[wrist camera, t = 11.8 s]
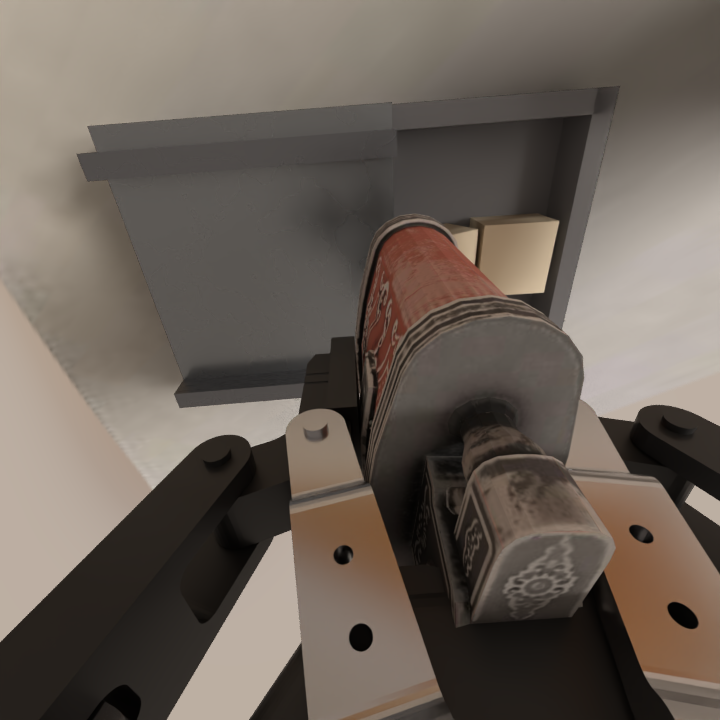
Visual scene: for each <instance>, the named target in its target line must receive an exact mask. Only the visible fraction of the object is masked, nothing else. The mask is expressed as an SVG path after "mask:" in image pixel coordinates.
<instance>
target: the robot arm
mask: <svg viewBox="0 0 720 720" xmlns="http://www.w3.org/2000/svg"><path fill="white" fill-rule="evenodd" d="M565 467H566V469H567V470H568V472H569V473H570V475H571V476H572V478H573V479H574V481H575V482H576V484H577V485H578V487H579V488H580V490H581V491H582V493H583V494H584V496H585V497H586V499H587V500H588V502H589V503H590V505H591V506H592V508H593V509H594V511H595V512H596V514H597V515H598V517H599V518H600V520H601V521H602V523H603V524H604V526H605V527H606V529H607V530H608V532H609V533H610V535H611V536H612V538H613V540H614V543H615V547H616V549H615V551H614V553H613V555H612V558H611V560H610V562H609V563H608V565H607V566H606V568H605V569H604V570H603V572H602V573H601V575H600V576H599V578H598V579H597V581H596V582H595V584H594V585H593V587H592V588H591V590H590V591H589V593H588V594H587V596H586V597H585V598H584V600H583V601H582V603H583V607H578V609H577V610H576V612H575V613H574V615H573V616H572V617H565V618H550V619H536V620H521V621H507V622H492V623H477V624H468V625H464V626H461V627H458V628H455V623H454V619H453V615H452V610H451V606H450V602H449V598H448V595H447V592H445V588H444V584H443V579H442V575H441V570H440V567H434V566H429V565H424V564H423V565H409V566H398V564H397V561H396V558H395V555H394V552H393V549H392V546H391V543H390V540H389V537H388V534H387V531H386V528H385V525H384V522H383V520H382V517H381V514H380V511H379V508H378V505H377V502H376V499H375V496H374V493H373V490H372V487H371V485H370V483H369V482H368V481H367V482H365V481H364V479H363V476H362V461H361V441H360V419H359V384H358V372H357V360H356V348H355V337H354V336H346V337H333V338H331V348H330V353H326V354H315V356H314V357H313V358H312V359H311V360H310V361H309V362H308V364H307V369H306V376H305V380H304V386H303V392H302V398H301V403H300V409H299V415H297V416H296V417H294V418H293V419H292V420H291V421H290V422H289V424H288V426H287V428H286V434H285V435H283V436H281V437H279V438H277V439H275V440H273V441H270V442H267V443H263V444H260V445H257V446H254V447H250V444H249V442H248V441H247V440H246V439H244V438H243V437H240V436H237V435H222V436H218V437H215V438H212V439H209V440H207V441H205V442H203V443H202V444H200V445H199V446H197V447H196V448H195V449H194V450H193V451H192V452H191V453H190V454H189V455H188V456H187V457H186V458H185V459H184V460H183V461H182V462H181V463H180V464H179V465H178V466H176V467H175V468H174V469H173V470H172V471H171V472H170V473H169V474H168V475H167V476H166V477H165V478H164V479H163V480H162V481H161V482H160V483H159V484H158V485H157V486H156V487H155V488H154V489H153V490H152V491H151V493H149V494H148V495H147V496H146V497H145V498H144V499H143V501H141V502H140V503H139V504H138V505H137V507H135V508H134V510H132V512H131V513H129V515H127V516H126V517H125V518H124V519H123V520H122V521H121V522H120V523H119V524H118V526H116V527H115V528H114V530H112V531H111V532H110V533H109V534H108V535H107V536H106V537H105V538H104V539H103V540H102V541H101V542H100V543H99V544H98V545H97V546H96V547H95V548H94V549H93V550H92V551H91V552H90V553H89V554H88V555H87V556H86V557H85V558H84V559H83V560H82V561H81V562H80V563H79V564H78V565H77V566H76V567H75V568H74V569H73V570H72V571H71V572H70V573H69V574H68V575H67V576H66V577H65V578H64V579H63V580H62V581H61V582H60V583H59V584H58V585H57V586H56V587H55V588H54V589H53V590H52V591H51V592H50V593H49V594H48V596H46V597H45V598H44V599H43V600H42V601H41V602H40V603H39V604H38V605H37V606H36V607H35V608H34V609H33V610H32V611H31V612H30V613H29V614H28V615H27V616H26V617H25V618H24V619H23V620H22V621H21V622H20V623H19V624H18V625H17V626H16V627H15V628H14V629H13V630H12V631H11V632H10V633H9V634H8V635H7V636H6V637H5V638H4V639H3V640H2V641H1V642H0V720H167V718H168V716H169V714H170V712H171V711H172V709H173V708H174V706H175V704H176V703H177V701H178V699H179V698H180V696H181V694H182V693H183V691H184V689H185V687H186V686H187V684H188V682H189V681H190V679H191V677H192V676H193V674H194V672H195V670H196V669H197V667H198V665H199V664H200V662H201V660H202V659H203V657H204V655H205V654H206V652H207V650H208V649H209V647H210V645H211V643H212V642H213V640H214V638H215V637H216V635H217V633H218V632H219V630H220V628H221V627H222V625H223V623H224V622H225V620H226V618H227V616H228V615H229V613H230V611H231V610H232V608H233V606H234V605H235V603H236V601H237V600H238V598H239V596H240V595H241V593H242V591H243V589H244V588H245V586H246V584H247V583H248V581H249V579H250V577H251V576H252V574H253V573H254V571H255V569H256V568H257V566H258V564H259V562H260V561H261V559H262V557H263V555H264V554H265V552H266V550H267V549H268V547H269V546H270V544H271V542H272V540H273V537H274V536H276V535H279V534H282V533H284V532H287V531H289V530H291V531H292V542H293V553H294V564H295V575H296V585H297V598H298V609H299V620H300V630H301V644H300V645H299V647H298V648H297V650H296V651H295V653H294V654H293V656H292V657H291V658H290V660H289V662H288V663H287V664H286V666H285V667H284V669H283V671H282V672H281V673H280V675H279V676H278V678H277V680H276V681H275V683H274V684H273V685H272V687H271V688H270V690H269V691H268V693H267V694H266V696H265V697H264V699H263V700H262V702H261V703H260V704H259V706H258V708H257V709H256V710H255V712H254V714H253V715H252V716H251V718H250V719H249V720H720V526H719V525H717V524H716V523H715V522H713V521H712V520H710V519H709V518H707V517H706V516H704V515H703V514H701V513H700V512H698V511H697V510H696V509H694V508H693V507H691V506H690V505H688V504H687V503H685V500H686V499H687V497H688V496H689V494H690V492H691V491H692V489H693V487H694V486H695V485H696V486H697V487H699V488H700V489H702V490H703V491H705V492H707V493H708V494H710V495H711V496H713V497H714V498H716V499H718V500H719V501H720V426H718V425H716V424H714V423H712V422H710V421H708V420H706V419H704V418H702V417H700V416H698V415H696V414H694V413H692V412H689V411H686V410H683V409H680V408H676V407H672V406H665V405H651V406H647V407H644V408H642V409H641V410H640V411H639V412H638V415H637V417H636V419H635V422H631V421H623V420H616V419H609V418H602V417H598V416H597V415H596V413H595V411H594V410H593V408H591V407H590V406H589V405H588V404H587V403H586V402H584V401H582V400H581V399H580V401H579V406H578V411H577V416H576V421H575V426H574V431H573V437H572V442H571V447H570V452H569V456H568V459H567V462H566V464H565Z"/></svg>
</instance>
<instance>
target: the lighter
mask: <svg viewBox="0 0 720 720" xmlns="http://www.w3.org/2000/svg"><path fill="white" fill-rule="evenodd" d="M355 340H356V360H357V372H358V384H359V393H360V400H359V419H360V441H361V461H362V476H363V479H364V481H365V482H367V481H368V482H369V483H370V485H371V487H372V490H373V493H374V496H375V499H376V502H377V505H378V508H379V511H380V514H381V517H382V520H383V522H384V525H385V528H386V531H387V534H388V537H389V540H390V543H391V546H392V549H393V552H394V555H395V558H396V561H397V564H398V566H409V565H423V564H424V565H429V566H434V567H440V570H441V575H442V579H443V584H444V588H445V592H447V595H448V598H449V602H450V606H451V610H452V615H453V619H454V623H455V628H458V627H461V626H464V625H468V624H477V623H492V622H507V621H521V620H536V619H550V618H565V617H572V616H573V615H574V613H575V612H576V610H577V609H578V607H583V603H582V601H583V600H584V598H585V597H586V596H587V594H588V593H589V591H590V590H591V588H592V587H593V585H594V584H595V582H596V581H597V579H598V578H599V576H600V575H601V573H602V572H603V570H604V569H605V568H606V566H607V565H608V563H609V562H610V560H611V558H612V555H613V553H614V551H615V549H616V547H615V543H614V540H613V538H612V536H611V535H610V533H609V532H608V530H607V529H606V527H605V526H604V524H603V523H602V521H601V520H600V518H599V517H598V515H597V514H596V512H595V511H594V509H593V508H592V506H591V505H590V503H589V502H588V500H587V499H586V497H585V496H584V494H583V493H582V491H581V490H580V488H579V487H578V485H577V484H576V482H575V481H574V479H573V478H572V476H571V475H570V473H569V472H568V470H567V469H566V467H565V464H566V462H567V459H568V456H569V452H570V447H571V442H572V437H573V431H574V426H575V421H576V416H577V411H578V406H579V401H580V396H581V391H582V386H583V381H584V371H583V357H582V355H581V353H580V352H579V350H578V349H577V347H576V346H575V344H574V343H573V342H572V340H571V339H570V337H569V336H568V335H567V334H566V333H565V332H564V331H562V330H561V329H560V328H559V327H558V326H557V325H556V324H555V323H553V322H552V321H551V320H550V319H549V318H548V317H547V316H545V315H544V314H543V313H542V312H540V311H538V310H537V309H535V308H533V307H531V306H530V305H528V304H526V303H524V302H523V301H521V300H517V299H511V298H508V297H507V296H506V295H505V294H504V293H502V292H501V291H500V290H499V289H498V288H497V287H496V286H495V285H494V284H493V283H492V282H491V281H490V280H489V279H488V278H487V277H486V276H485V275H484V274H483V273H482V272H481V271H480V270H479V269H478V268H477V267H476V266H475V265H474V264H473V263H472V262H471V261H470V260H469V259H468V258H467V257H466V256H465V255H464V254H463V253H462V252H461V251H460V250H459V249H458V245H457V241H456V239H455V238H454V237H453V235H452V234H451V233H450V231H449V230H448V229H447V228H446V227H445V226H444V225H442V224H441V223H440V222H438V221H436V220H435V219H433V218H431V217H430V216H425V215H420V214H408V215H400V216H398V217H396V218H394V219H392V220H389V221H387V222H386V223H385V224H384V225H383V226H382V227H381V228H380V229H379V230H378V231H377V232H376V233H375V236H374V238H373V240H372V242H371V245H370V249H369V253H368V257H367V262H366V266H365V270H364V274H363V278H362V283H361V287H360V293H359V302H358V311H357V320H356V329H355Z"/></svg>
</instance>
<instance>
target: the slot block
mask: <svg viewBox="0 0 720 720" xmlns="http://www.w3.org/2000/svg"><path fill="white" fill-rule="evenodd" d="M87 127H88V129H89V132H90V135H91V137H92V140H93V142H94V145H95V148H96V150H97V152H95V153H83V154H77V157H78V159H79V162H80V164H81V166H82V169H83V171H84V174H85V176H86V179H87V181H99V180H108V182H109V184H110V187H111V190H112V192H113V195H114V198H115V200H116V203H117V205H118V208H119V211H120V213H121V216H122V219H123V221H124V224H125V227H126V229H127V232H128V234H129V237H130V240H131V242H132V245H133V248H134V250H135V253H136V255H137V258H138V261H139V263H140V266H141V269H142V271H143V274H144V276H145V279H146V282H147V284H148V287H149V290H150V292H151V295H152V297H153V300H154V303H155V305H156V308H157V311H158V313H159V316H160V319H161V321H162V324H163V326H164V329H165V332H166V334H167V337H168V340H169V342H170V345H171V347H172V350H173V353H174V355H175V358H176V361H177V363H178V366H179V368H180V371H181V374H182V376H183V379H184V380H183V381H182V383H181V384H180V386H179V388H178V389H177V391H176V392H175V394H174V395H175V398H176V400H177V403H178V405H179V407H180V408H185V407H197V406H209V405H221V404H233V403H245V402H257V401H268V400H280V399H292V398H302V392H303V386H304V380H305V376H306V369H307V364H308V362H309V361H310V360H311V359H312V358H313V357H314V356H315V354H326V353H330V348H331V338H333V337H346V336H354V337H355V329H356V320H357V311H358V302H359V293H360V287H361V283H362V278H363V274H364V270H365V266H366V262H367V257H368V253H369V249H370V245H371V242H372V240H373V238H374V236H375V233H376V232H377V231H378V230H379V229H380V228H381V227H382V226H383V225H384V224H385V223H386V222H387V221H389V220H392V219H394V193H393V157H397V129H392V102H388V103H376V104H363V105H350V106H338V107H325V108H312V109H299V110H287V111H274V112H261V113H249V114H236V115H223V116H211V117H198V118H185V119H173V120H160V121H147V122H134V123H122V124H109V125H96V126H87ZM355 348H356V340H355Z"/></svg>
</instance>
